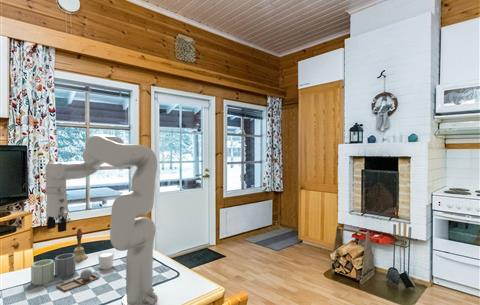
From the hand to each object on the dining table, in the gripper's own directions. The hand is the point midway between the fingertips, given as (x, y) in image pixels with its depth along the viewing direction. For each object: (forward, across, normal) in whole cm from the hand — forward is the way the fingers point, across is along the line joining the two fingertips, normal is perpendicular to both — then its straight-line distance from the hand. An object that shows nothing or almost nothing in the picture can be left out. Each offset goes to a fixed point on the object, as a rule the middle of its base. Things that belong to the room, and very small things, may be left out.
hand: (56, 229), depth 121 cm
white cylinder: (+23, -5, -20) cm, 31 cm away
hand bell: (+23, +19, -19) cm, 35 cm away
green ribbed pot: (+23, +5, +4) cm, 23 cm away
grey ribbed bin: (+23, +4, -5) cm, 24 cm away
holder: (+23, -10, -4) cm, 25 cm away
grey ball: (+22, -10, -7) cm, 25 cm away
